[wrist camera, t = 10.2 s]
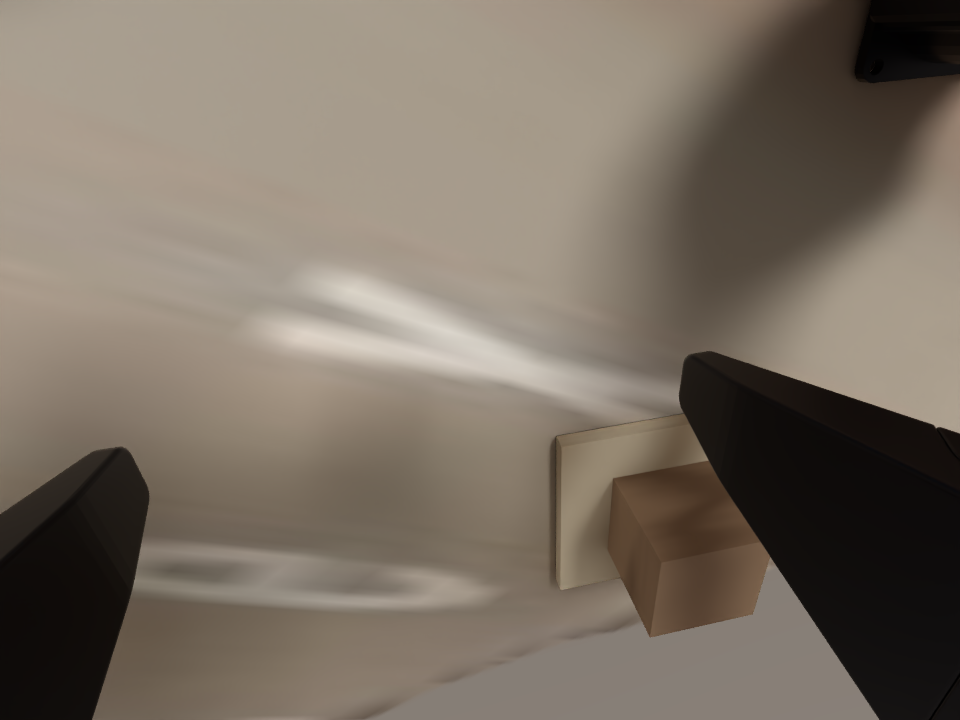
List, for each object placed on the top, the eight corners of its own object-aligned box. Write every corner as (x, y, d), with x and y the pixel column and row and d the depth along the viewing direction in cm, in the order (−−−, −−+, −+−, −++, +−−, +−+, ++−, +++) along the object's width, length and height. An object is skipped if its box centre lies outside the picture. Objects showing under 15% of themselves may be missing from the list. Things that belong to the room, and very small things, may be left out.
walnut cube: (710, 459, 27) (775, 538, 23) (696, 531, 30) (752, 614, 26) (612, 478, 27) (661, 562, 22) (607, 549, 29) (649, 637, 25)
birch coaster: (755, 400, 27) (766, 410, 26) (723, 543, 32) (731, 553, 31) (556, 436, 26) (561, 447, 25) (555, 578, 31) (560, 590, 30)
